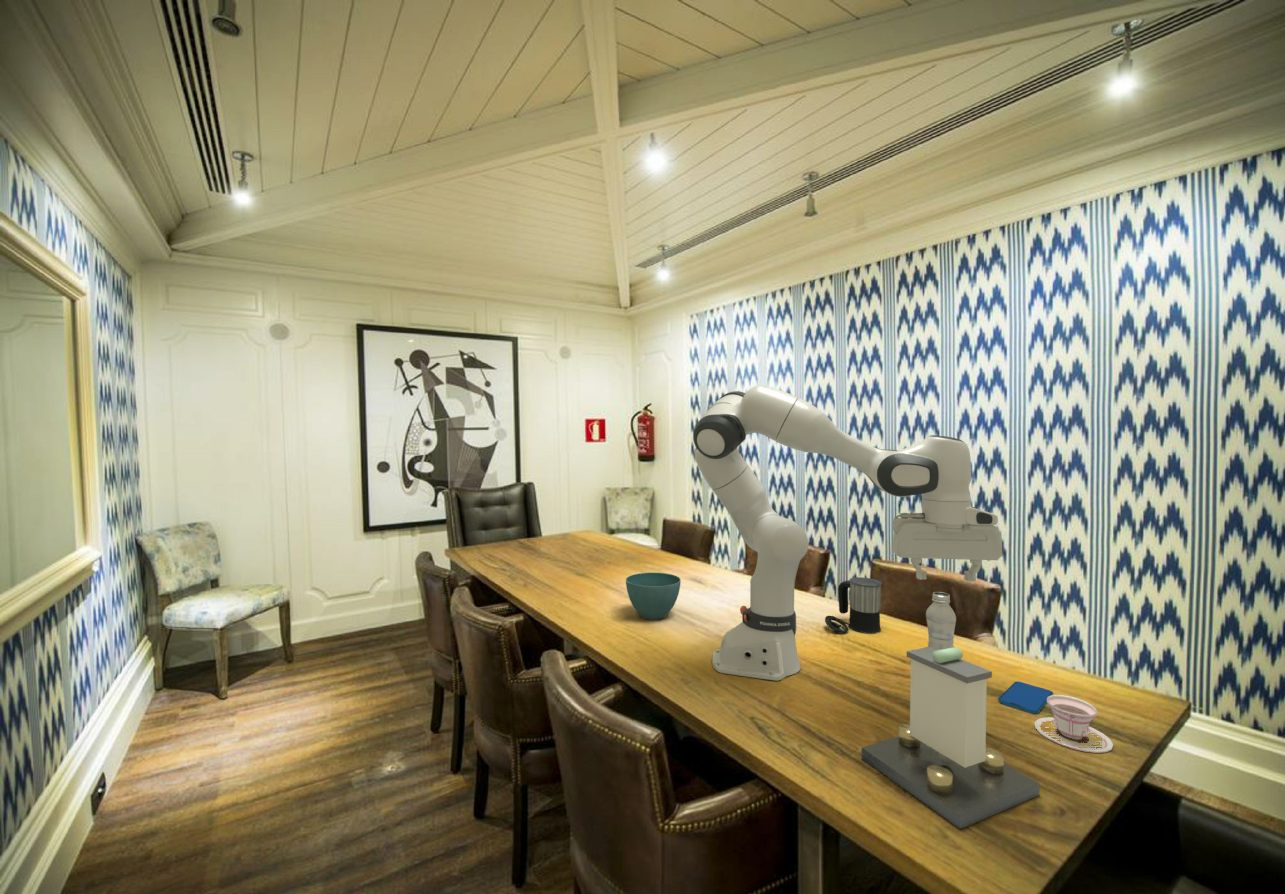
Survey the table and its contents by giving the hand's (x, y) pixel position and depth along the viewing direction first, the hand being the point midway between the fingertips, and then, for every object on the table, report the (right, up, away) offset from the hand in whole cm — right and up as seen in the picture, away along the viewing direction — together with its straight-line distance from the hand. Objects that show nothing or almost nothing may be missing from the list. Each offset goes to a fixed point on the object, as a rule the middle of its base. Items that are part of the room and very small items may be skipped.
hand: (945, 579), depth 109 cm
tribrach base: (-11, -29, -18) cm, 36 cm away
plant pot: (-60, -29, +65) cm, 93 cm away
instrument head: (-11, -27, -18) cm, 34 cm away
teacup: (+22, -30, -6) cm, 37 cm away
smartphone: (+24, -30, +9) cm, 39 cm away
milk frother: (+2, -29, +52) cm, 60 cm away
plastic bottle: (+11, -29, +21) cm, 38 cm away
